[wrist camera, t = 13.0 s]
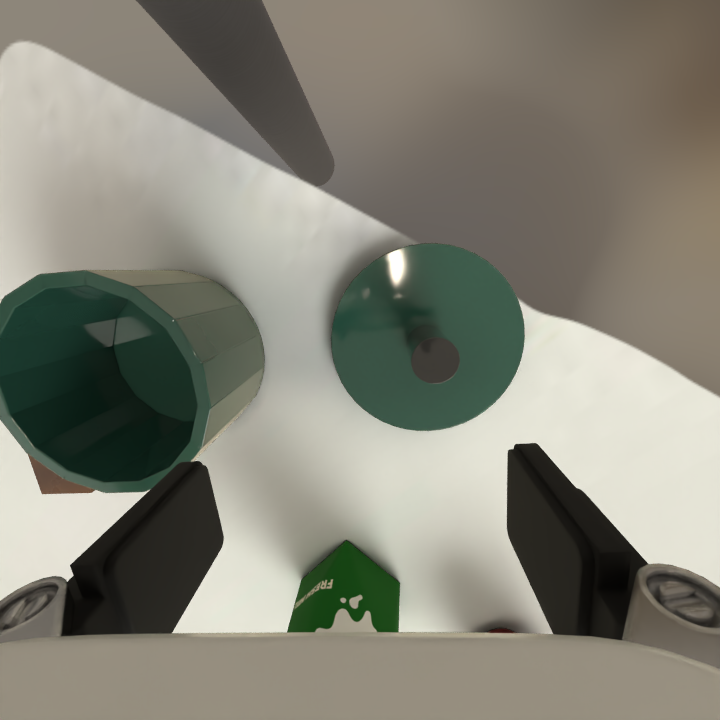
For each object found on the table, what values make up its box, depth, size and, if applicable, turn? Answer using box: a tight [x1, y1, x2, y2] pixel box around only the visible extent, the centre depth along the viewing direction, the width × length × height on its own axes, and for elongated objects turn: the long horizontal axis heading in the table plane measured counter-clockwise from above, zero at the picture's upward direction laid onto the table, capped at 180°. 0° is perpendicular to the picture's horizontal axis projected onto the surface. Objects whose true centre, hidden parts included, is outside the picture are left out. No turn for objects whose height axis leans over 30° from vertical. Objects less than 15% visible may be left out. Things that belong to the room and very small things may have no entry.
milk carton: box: [287, 540, 400, 633], centre depth 24 cm, size 9×9×20 cm
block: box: [28, 454, 95, 494], centre depth 30 cm, size 4×4×4 cm
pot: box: [0, 270, 265, 493], centre depth 24 cm, size 14×14×10 cm
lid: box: [331, 243, 525, 431], centre depth 24 cm, size 15×15×6 cm
